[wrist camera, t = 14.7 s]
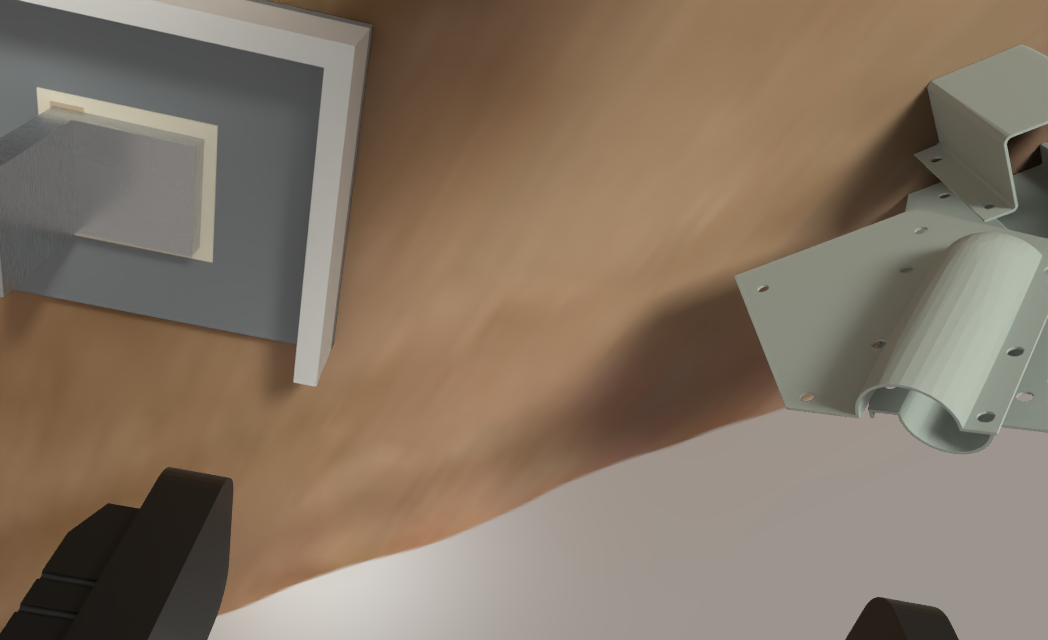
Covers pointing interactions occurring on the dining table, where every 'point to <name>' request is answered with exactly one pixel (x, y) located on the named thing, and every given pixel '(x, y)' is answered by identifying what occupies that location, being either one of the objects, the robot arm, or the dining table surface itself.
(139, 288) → the corner arena
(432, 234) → the dining table surface
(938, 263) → the bracket
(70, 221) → the angle bracket
